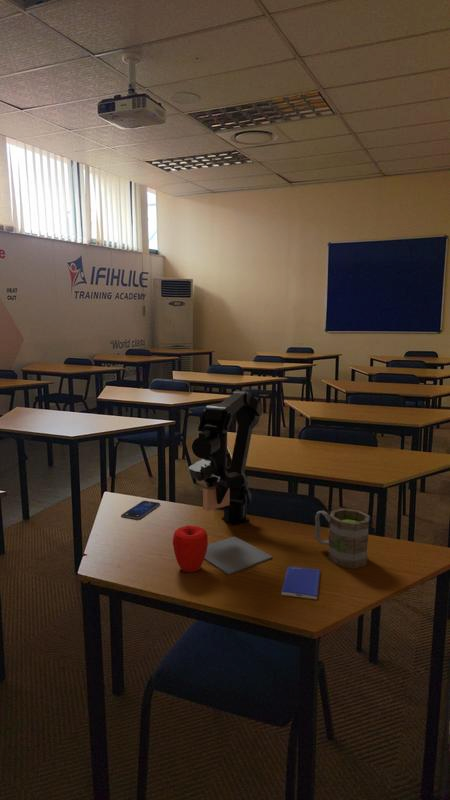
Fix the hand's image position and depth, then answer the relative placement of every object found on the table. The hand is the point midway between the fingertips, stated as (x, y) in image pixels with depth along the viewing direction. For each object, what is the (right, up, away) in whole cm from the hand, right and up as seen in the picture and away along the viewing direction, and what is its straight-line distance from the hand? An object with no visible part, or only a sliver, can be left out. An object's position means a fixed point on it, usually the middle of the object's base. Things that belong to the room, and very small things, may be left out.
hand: (216, 502), depth 145 cm
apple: (-6, -14, -16) cm, 22 cm away
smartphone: (-25, -8, +23) cm, 35 cm away
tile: (0, -1, 0) cm, 1 cm away
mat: (+4, -12, -8) cm, 16 cm away
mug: (+34, -13, -8) cm, 37 cm away
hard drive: (+21, -16, -23) cm, 35 cm away
